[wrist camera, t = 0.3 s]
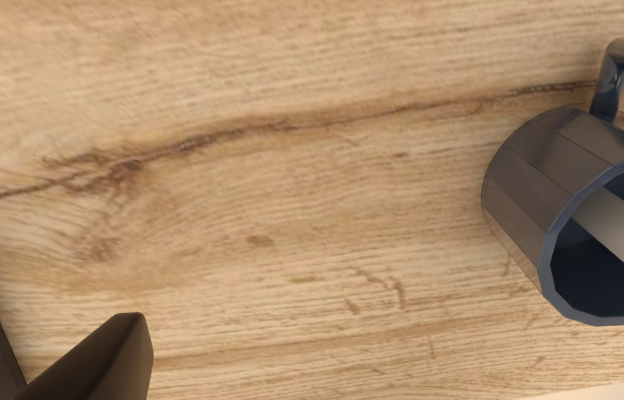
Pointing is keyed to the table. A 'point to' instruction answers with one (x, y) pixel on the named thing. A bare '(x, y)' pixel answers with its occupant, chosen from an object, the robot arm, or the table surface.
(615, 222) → the marker
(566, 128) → the mug
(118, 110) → the table surface
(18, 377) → the tray
